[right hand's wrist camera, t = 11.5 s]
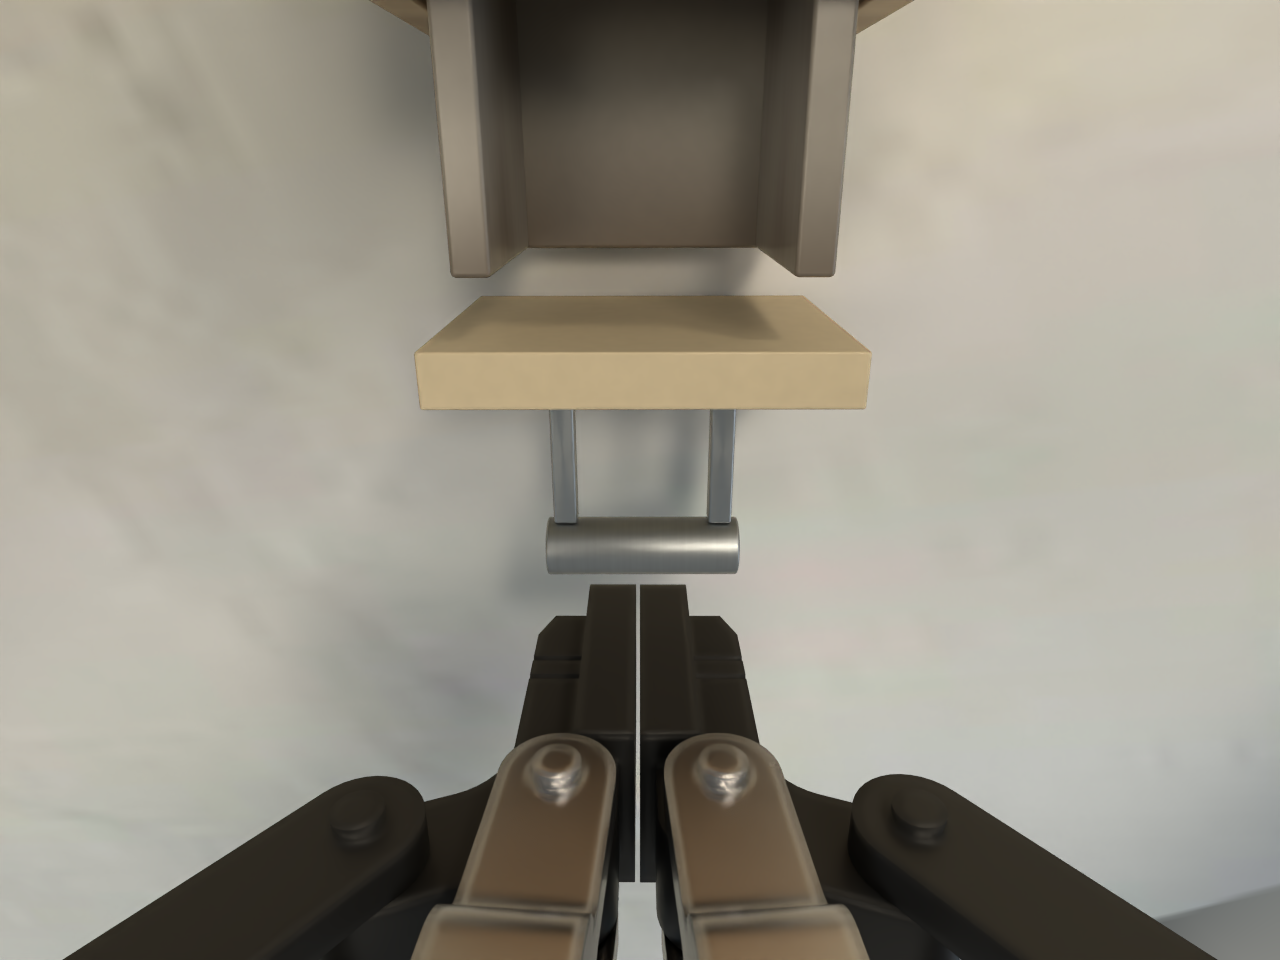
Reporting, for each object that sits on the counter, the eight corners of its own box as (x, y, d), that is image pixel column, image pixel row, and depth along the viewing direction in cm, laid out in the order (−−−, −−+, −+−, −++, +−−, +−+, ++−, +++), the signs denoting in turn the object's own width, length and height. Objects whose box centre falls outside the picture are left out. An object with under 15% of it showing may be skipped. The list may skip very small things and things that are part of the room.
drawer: (787, 514, 25) (841, 642, 18) (496, 515, 25) (445, 642, 18) (872, -620, 16) (1040, -1189, 9) (411, -619, 16) (243, -1186, 9)
